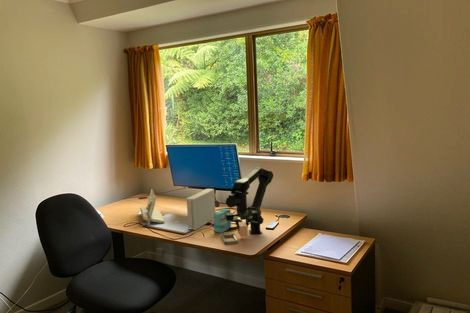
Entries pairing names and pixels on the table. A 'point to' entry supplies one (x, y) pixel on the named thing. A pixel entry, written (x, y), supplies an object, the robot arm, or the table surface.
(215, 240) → the table surface
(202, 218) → the game console
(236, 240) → the grey rectangular frame
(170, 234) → the table surface
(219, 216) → the data package
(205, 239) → the table surface
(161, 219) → the architectural model
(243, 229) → the tall beige box
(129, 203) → the table surface
